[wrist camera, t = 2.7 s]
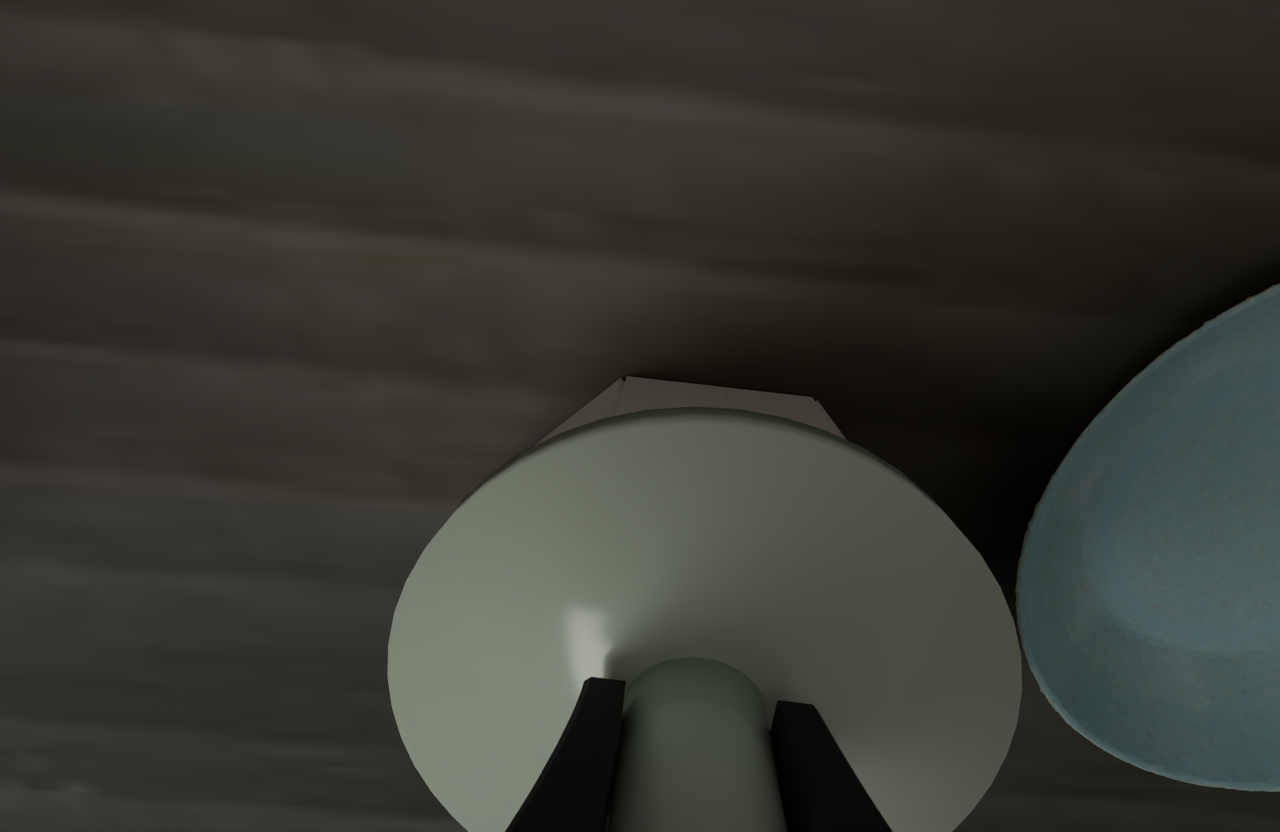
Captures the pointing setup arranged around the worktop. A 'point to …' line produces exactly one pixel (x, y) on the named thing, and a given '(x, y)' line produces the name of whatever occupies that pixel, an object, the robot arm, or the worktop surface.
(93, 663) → the worktop surface
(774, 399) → the bowl
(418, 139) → the worktop surface
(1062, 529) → the saucer
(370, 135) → the worktop surface
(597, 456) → the lid
